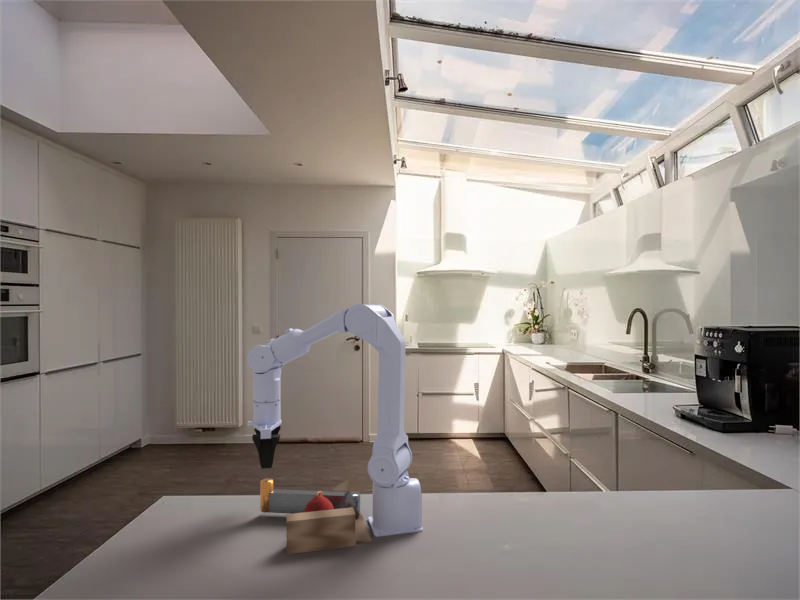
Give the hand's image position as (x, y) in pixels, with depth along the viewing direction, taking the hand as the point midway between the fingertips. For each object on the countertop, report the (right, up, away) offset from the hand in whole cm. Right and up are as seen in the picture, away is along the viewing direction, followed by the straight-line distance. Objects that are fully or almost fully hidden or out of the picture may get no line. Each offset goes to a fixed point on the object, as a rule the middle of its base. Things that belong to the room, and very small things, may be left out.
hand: (267, 463), depth 103 cm
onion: (+13, -9, -12) cm, 20 cm away
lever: (+10, -8, -5) cm, 14 cm away
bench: (+15, -9, -12) cm, 21 cm away
